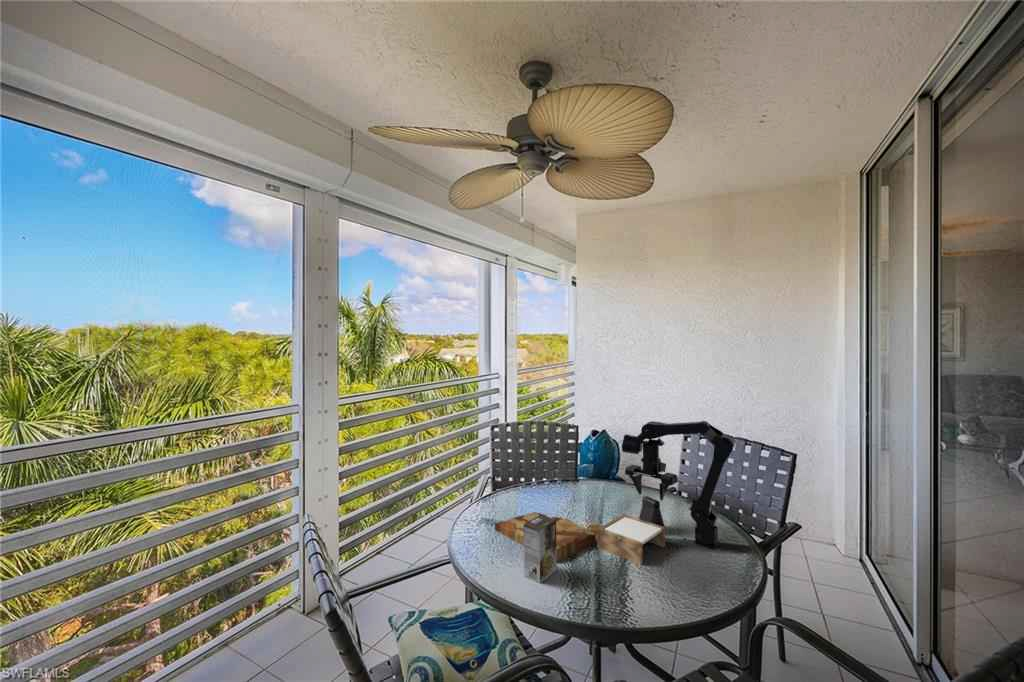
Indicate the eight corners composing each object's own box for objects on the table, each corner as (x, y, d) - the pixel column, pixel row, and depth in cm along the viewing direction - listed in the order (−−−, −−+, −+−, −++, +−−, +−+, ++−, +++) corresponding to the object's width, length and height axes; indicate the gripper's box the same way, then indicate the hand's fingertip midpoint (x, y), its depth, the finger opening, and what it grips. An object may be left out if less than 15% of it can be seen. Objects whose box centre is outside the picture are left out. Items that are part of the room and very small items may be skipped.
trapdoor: (661, 536, 151) (661, 528, 151) (641, 550, 141) (641, 542, 141) (625, 524, 160) (625, 516, 160) (604, 537, 150) (604, 528, 150)
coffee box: (540, 564, 140) (540, 514, 139) (557, 571, 135) (557, 519, 135) (522, 576, 133) (522, 523, 132) (540, 584, 128) (540, 529, 128)
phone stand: (653, 524, 169) (653, 493, 169) (665, 530, 163) (665, 499, 163) (636, 529, 165) (636, 497, 165) (647, 536, 159) (647, 503, 159)
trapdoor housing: (665, 545, 152) (665, 527, 152) (640, 565, 139) (640, 544, 139) (623, 531, 163) (623, 514, 163) (597, 547, 150) (597, 529, 150)
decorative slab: (597, 545, 153) (597, 531, 153) (551, 565, 140) (551, 550, 140) (537, 515, 179) (537, 503, 179) (493, 530, 165) (493, 517, 165)
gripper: (684, 456, 163) (684, 498, 163) (638, 447, 176) (638, 486, 176) (671, 462, 155) (671, 506, 155) (624, 452, 168) (624, 493, 168)
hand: (650, 497), depth 164 cm, fingers open, 8 cm apart
